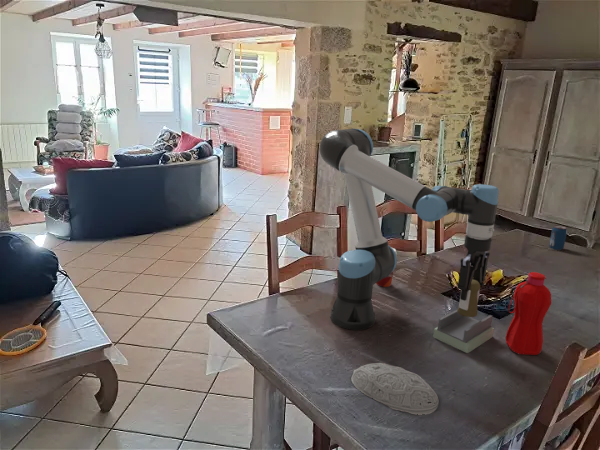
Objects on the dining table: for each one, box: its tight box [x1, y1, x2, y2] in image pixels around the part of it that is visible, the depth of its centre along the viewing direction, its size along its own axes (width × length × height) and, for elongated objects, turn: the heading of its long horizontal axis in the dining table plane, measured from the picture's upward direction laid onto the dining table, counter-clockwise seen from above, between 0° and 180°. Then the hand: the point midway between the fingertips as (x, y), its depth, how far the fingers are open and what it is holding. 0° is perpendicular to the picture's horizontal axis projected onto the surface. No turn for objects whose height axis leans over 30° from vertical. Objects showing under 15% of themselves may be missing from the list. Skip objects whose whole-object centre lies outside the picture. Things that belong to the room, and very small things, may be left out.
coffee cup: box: [375, 247, 398, 288], centre depth 183 cm, size 8×8×15 cm
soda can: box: [548, 224, 568, 251], centre depth 238 cm, size 7×7×12 cm
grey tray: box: [432, 308, 495, 354], centre depth 145 cm, size 16×12×7 cm
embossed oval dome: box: [350, 362, 440, 416], centre depth 119 cm, size 16×25×7 cm, turn 58°
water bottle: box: [505, 271, 552, 356], centre depth 137 cm, size 9×11×25 cm
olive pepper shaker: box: [456, 278, 481, 318], centre depth 142 cm, size 6×6×11 cm
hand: (468, 305), depth 143 cm, fingers closed on olive pepper shaker, 5 cm apart
